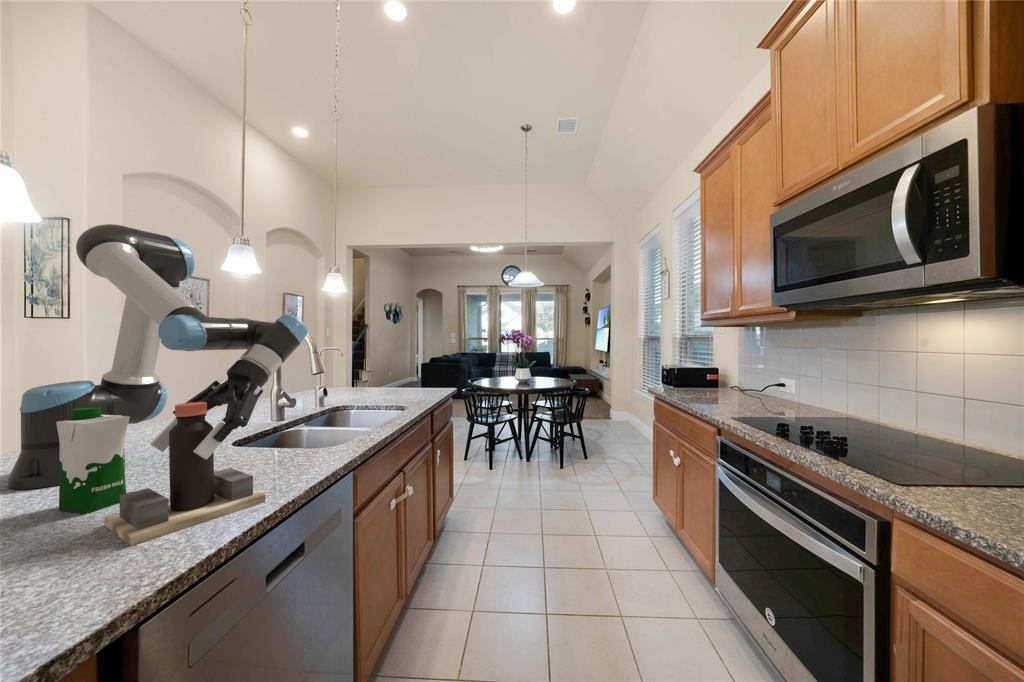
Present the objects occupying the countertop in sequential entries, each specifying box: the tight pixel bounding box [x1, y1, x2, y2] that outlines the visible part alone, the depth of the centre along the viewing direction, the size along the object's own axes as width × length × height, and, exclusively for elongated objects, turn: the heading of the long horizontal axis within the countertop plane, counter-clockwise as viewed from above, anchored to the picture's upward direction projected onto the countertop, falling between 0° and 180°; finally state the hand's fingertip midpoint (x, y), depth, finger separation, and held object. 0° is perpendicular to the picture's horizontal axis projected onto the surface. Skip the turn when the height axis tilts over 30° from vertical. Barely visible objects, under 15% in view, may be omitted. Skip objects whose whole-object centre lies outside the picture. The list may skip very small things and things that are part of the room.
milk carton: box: [56, 407, 130, 515], centre depth 80 cm, size 9×9×20 cm
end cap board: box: [104, 467, 267, 547], centre depth 77 cm, size 14×21×6 cm, turn 149°
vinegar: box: [168, 402, 215, 511], centre depth 77 cm, size 7×7×20 cm
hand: (177, 451), depth 74 cm, fingers open, 13 cm apart
